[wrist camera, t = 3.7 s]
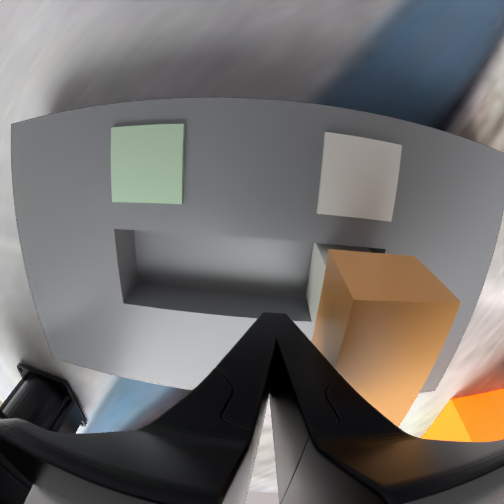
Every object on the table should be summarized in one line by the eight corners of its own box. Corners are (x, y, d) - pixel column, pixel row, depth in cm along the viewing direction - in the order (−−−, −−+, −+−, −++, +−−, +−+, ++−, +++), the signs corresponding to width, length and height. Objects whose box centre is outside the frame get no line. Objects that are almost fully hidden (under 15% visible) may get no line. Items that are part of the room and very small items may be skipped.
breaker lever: (296, 313, 15) (311, 435, 8) (310, 214, 13) (353, 299, 6) (354, 316, 14) (396, 428, 8) (375, 220, 13) (461, 302, 6)
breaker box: (74, 332, 18) (51, 359, 15) (46, 122, 13) (8, 124, 10) (419, 361, 17) (435, 392, 14) (477, 150, 12) (514, 156, 9)
